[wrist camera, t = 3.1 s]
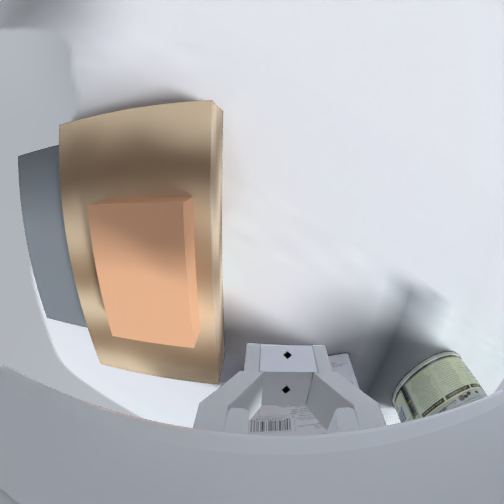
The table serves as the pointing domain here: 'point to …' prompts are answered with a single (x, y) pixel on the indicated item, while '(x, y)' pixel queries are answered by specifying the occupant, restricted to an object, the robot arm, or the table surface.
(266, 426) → the ink cartridge box
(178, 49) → the table surface
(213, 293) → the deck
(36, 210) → the mat
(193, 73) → the table surface
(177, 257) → the block
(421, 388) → the coffee can
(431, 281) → the table surface
